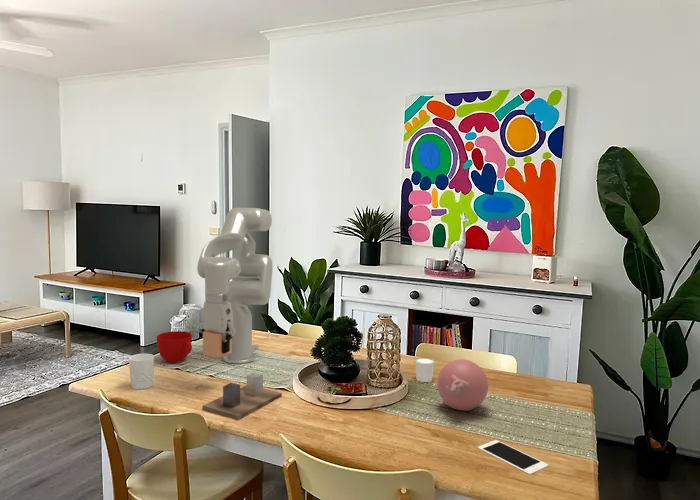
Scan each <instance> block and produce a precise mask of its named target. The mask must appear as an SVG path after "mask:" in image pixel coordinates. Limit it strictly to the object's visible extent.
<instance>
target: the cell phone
mask: <svg viewBox="0 0 700 500" xmlns="http://www.w3.org/2000/svg"><path fill="white" fill-rule="evenodd" d="M477 449H479V450H481V451H482V452H483V453H487V454H488V455H490V456H492V457H494V458H495V459H498V460H500V461H502V462H504V463H506V464H508V465H510V466H512V467H513V468H515V469H517V470H520V471H521V472H524V473H525V474H528V475H533V474H534V473H535V474H536V473H537V472H539V471H541V470H542V469H545V468H548V467H549V463H546V462H544V461H542V460H540V459H538V458H536V457H533V456H532V455H529V454H527V453H525V452H523V451H521V450H518V448H514V447H512V446H511V445H508V444H507V443H504V442H501V441H500V440H497V439H495V440H491V441H489V442H487V443H484V444H482V445H479V446H477Z"/></svg>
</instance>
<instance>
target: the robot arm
mask: <svg viewBox="0 0 700 500" xmlns="http://www.w3.org/2000/svg"><path fill="white" fill-rule="evenodd" d="M224 220H225V221H224V223H223V227H222V230H221V233H220V234H219V235H218V236H216V237H214V238H213V239H212V240H210V241H209V242H208V243H206V244H205V245H204V246H203V248H202V250H201V253H200V256H199V259H198V262H197V267H196V270H197V274H198V275H199V277H200V278H203V279H204V295H205V297H204V302H203V307H202V308H203V309H202V318H201V319H202V320H201V321H200V322H199V323H198V328H200V331H201V333H202V334H203V332H204V331H211V332H216V333H221V334H222V339H223V342H222V353H223V354H224V353H227V352H229V351H230V340H231V338H232V353H230V354H227V355H225V356H222V359H223V362H225V363H229V364H247V363H252V362H254V361H255V360H256V357H257V356H256V354H255V353H254V352H255V351H256V350H258V349H259V345H258V344H254V345H253V316H252V313H251V310H250V309H249V308H248V305H249V306H250V305H251V306H258V305H259V306H264V305H267V304H268V303H269V302H270V298H271V290H272V279H273V260H272V258H271V257H270V256H269V255H268V254H259V253H257V254H256V247H257V246H256V245H257V243H256V240H255V239H254V238H253V236H252V235H251V234H250V233H249V232H248V231H250V232H267V231H269V230H270V229H271V226H272V223H273V220H272V215H271V213H270V211H269V210H268V209H263V208H258V207H234V208H231V209H230V210H228V212H227V214H226V217H225V219H224ZM231 251H232V252H233V253H232V257H230V256H229V257H227V256H226V257H224V256H220V255H221V254H225V253H227V252H231ZM236 278H241V279H236ZM242 278H243V279H242ZM245 278H246V279H245ZM250 279H251V280H250ZM253 279H255V280H253ZM256 279H259V280H256ZM229 280H230V281H229ZM229 331H230V333H229ZM225 333H227V336H225Z"/></svg>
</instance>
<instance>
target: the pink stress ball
mask: <svg viewBox="0 0 700 500" xmlns="http://www.w3.org/2000/svg"><path fill="white" fill-rule="evenodd" d="M488 381H489V380H488V377H487V375H486V372H485V371H484V370H483V369H482V367H480V366H479V364H477V363H475V362H474V361H471V360H469V359H465V358H464V359H462V358H460V359H459V358H458V359H455V360H452V361H449V362H448V363H446V364H445V365H444V366H443V367H442V369H441V370H440V371H439V374H438V376H437V382H436V383H437V384H436V385H437V391H438V394H439V395H440V398H441V399H442V401H443V402H444V403H445V404H446V405H447V406H449V407H450V408H452V409H454V410H458V411H461V412H462V411H463V412H464V411H471V410H474V409H476V408H478V407H479V406H481V405H482V403H484V401H485V399H486V398H487V394H488V393H489V391H488V390H489V382H488Z"/></svg>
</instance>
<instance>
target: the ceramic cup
mask: <svg viewBox="0 0 700 500" xmlns="http://www.w3.org/2000/svg"><path fill="white" fill-rule="evenodd" d="M192 338H193V334H192V333H191V332H189V331H183V330H182V331H181V330H179V331H178V330H177V331H175V330H174V331H165V332H161V333H159V334H158V335H156V346H157V350H158V353H159V355H160V357H161V358H162V359H163V360H164V361H165V362H166V363H169V364H176V363H181V362H184V360H185V359H186V357H187V356H188V355H190V354H191V352H192V349H193V345H192Z"/></svg>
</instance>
